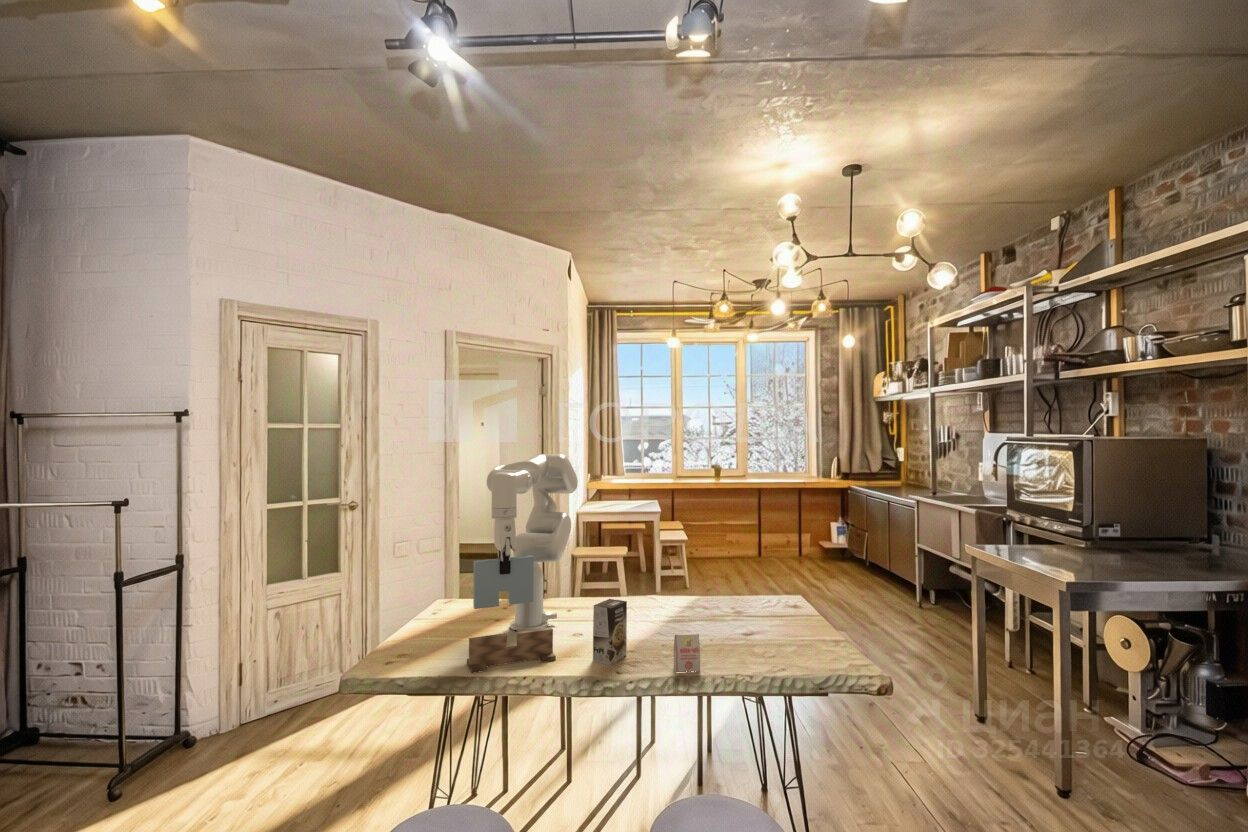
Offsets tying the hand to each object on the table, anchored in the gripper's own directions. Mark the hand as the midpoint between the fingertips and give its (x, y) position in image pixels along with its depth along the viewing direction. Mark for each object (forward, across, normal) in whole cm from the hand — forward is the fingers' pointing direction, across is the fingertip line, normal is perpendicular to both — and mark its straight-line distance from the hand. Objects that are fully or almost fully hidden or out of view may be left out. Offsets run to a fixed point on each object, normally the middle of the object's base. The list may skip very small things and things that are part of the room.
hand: (504, 572), depth 187 cm
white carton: (+23, -38, -42) cm, 61 cm away
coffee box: (+23, -21, -26) cm, 41 cm away
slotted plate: (+10, 0, 0) cm, 10 cm away
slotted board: (+23, -12, 0) cm, 26 cm away
